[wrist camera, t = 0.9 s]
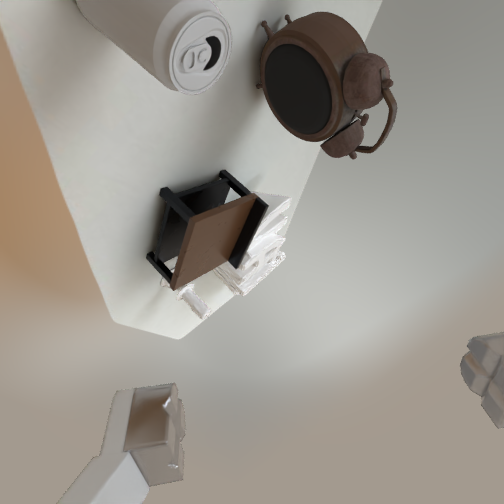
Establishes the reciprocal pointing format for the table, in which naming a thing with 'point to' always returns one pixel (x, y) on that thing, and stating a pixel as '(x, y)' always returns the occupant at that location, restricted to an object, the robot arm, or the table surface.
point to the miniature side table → (206, 229)
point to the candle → (190, 298)
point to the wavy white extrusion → (259, 249)
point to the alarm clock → (324, 82)
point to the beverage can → (167, 38)
